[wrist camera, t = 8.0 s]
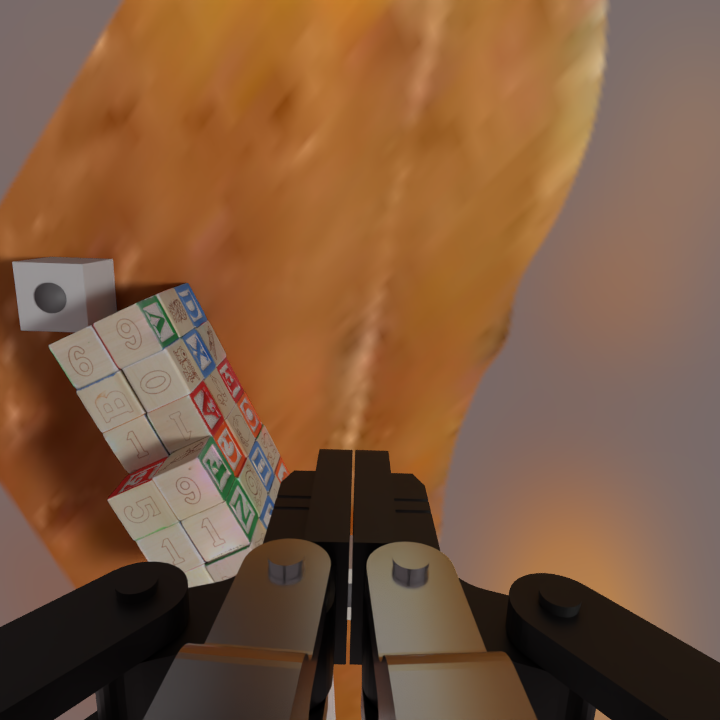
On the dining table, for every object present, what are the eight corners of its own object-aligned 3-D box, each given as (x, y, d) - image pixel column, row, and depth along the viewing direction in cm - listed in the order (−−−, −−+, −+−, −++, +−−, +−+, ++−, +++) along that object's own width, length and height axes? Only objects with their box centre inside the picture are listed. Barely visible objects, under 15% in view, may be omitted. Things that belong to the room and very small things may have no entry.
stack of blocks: (115, 315, 40) (12, 356, 29) (189, 280, 40) (116, 307, 28) (246, 546, 45) (206, 663, 34) (314, 518, 45) (298, 628, 33)
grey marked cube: (50, 256, 39) (10, 262, 35) (113, 258, 39) (81, 264, 35) (57, 318, 41) (19, 330, 36) (118, 320, 41) (87, 333, 36)
